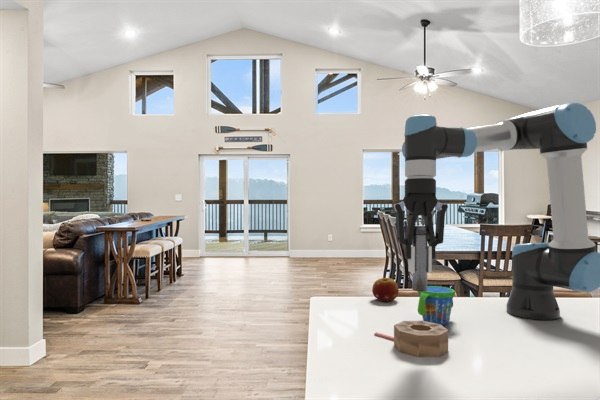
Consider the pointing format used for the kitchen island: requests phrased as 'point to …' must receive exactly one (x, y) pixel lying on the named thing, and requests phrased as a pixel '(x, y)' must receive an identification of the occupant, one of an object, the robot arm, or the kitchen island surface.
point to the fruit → (385, 289)
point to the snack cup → (436, 304)
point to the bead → (421, 338)
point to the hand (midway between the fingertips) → (419, 271)
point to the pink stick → (384, 336)
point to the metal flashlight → (420, 258)
